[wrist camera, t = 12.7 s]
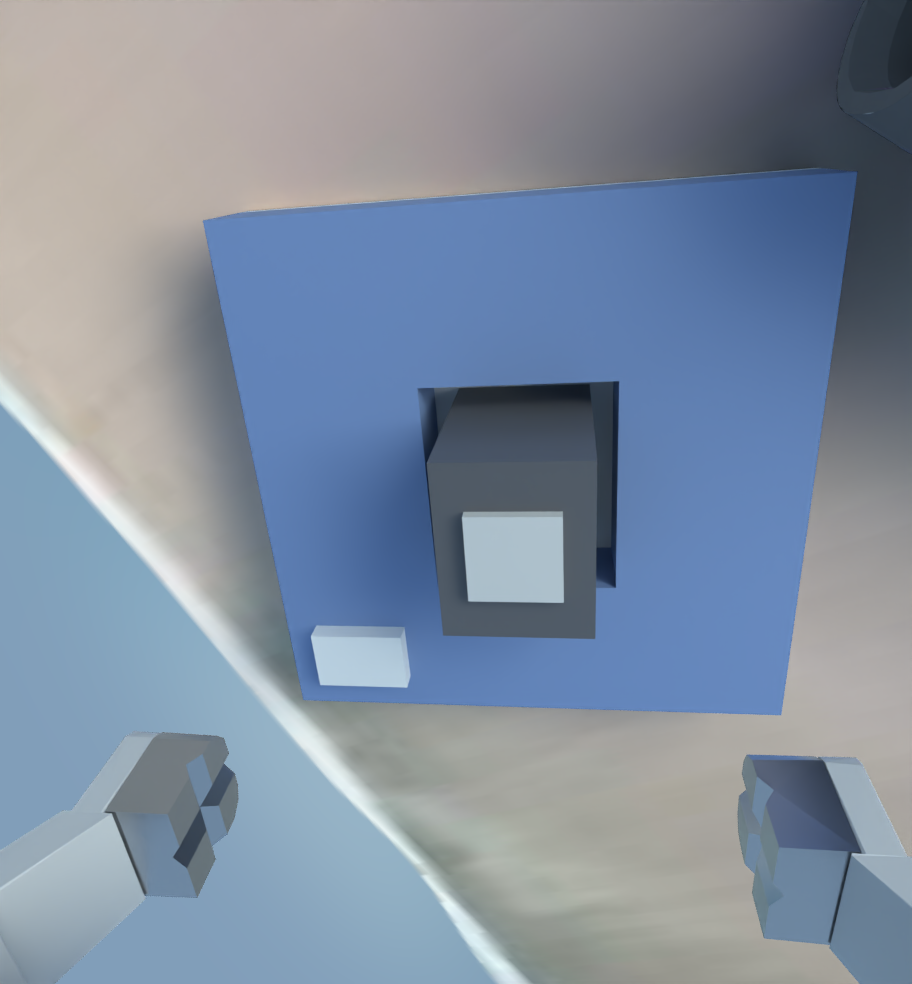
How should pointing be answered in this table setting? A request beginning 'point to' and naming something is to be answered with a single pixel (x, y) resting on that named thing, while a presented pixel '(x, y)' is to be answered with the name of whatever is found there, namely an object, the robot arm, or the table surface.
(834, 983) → the table surface
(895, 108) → the bluetooth speaker
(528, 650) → the socket
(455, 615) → the plug
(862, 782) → the robot arm
